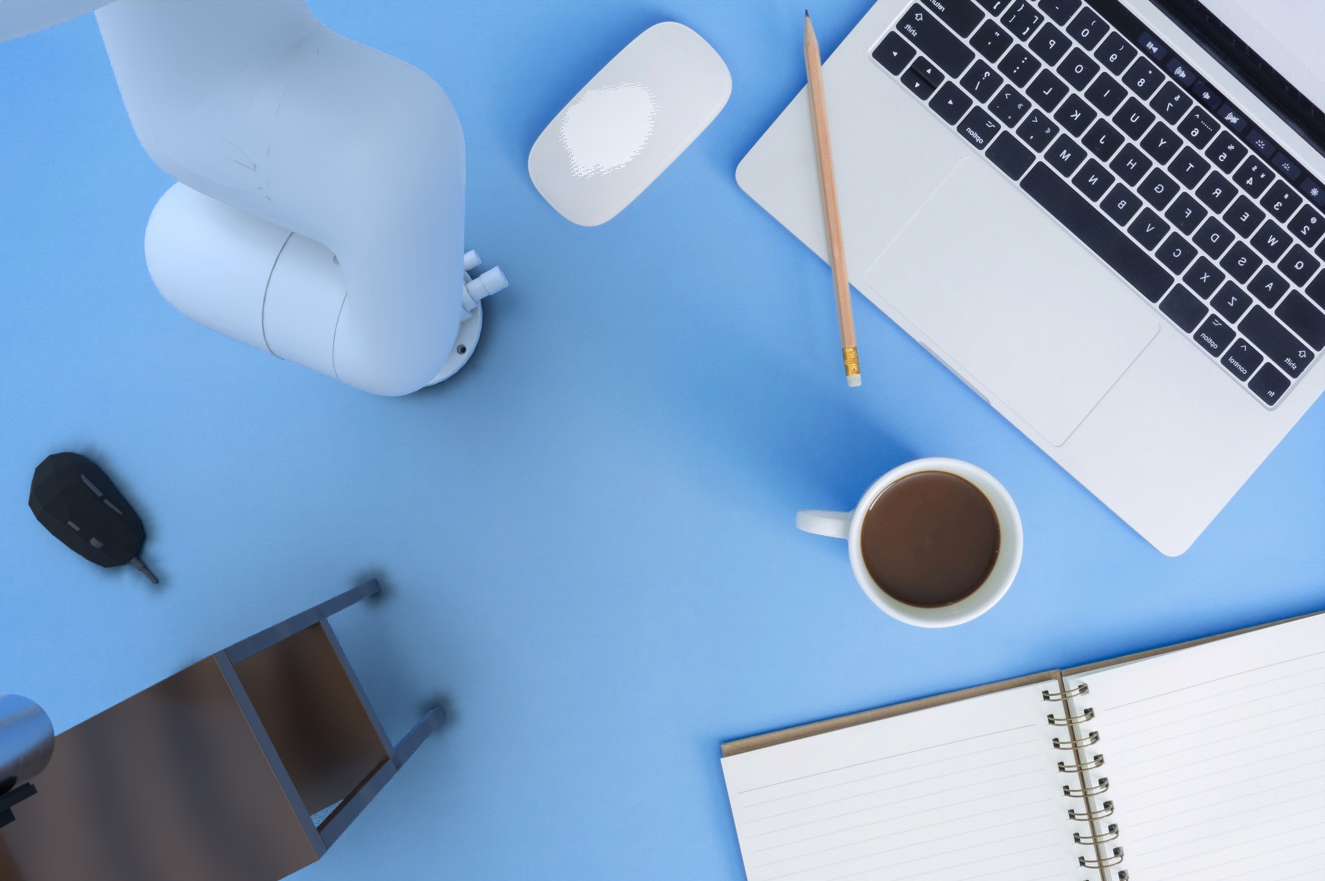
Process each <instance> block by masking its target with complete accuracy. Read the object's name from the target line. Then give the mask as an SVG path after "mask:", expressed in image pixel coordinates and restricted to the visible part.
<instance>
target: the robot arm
mask: <svg viewBox="0 0 1325 881" xmlns="http://www.w3.org/2000/svg"><path fill="white" fill-rule="evenodd" d="M92 12H93V13H94V17H95V20H96V23H97V26H98V28H99V32H100V35H101V38H102V41H103V44H104V47H105V50H106V53H107V56H108V59H109V62H110V65H111V69H112V71H113V75H114V77H115V80H116V81H115V82H116V84H117V87H118V90H119V94H120V96H121V100H122V102H123V105H124V108H125V110H126V113H127V116H128V118H129V120H130V124H131V126H132V129H133V131H134V133H135V135H136V137H137V139H138V141H139V144H140V145H141V147H142V149H143V150H144V152H145V154H146V155H147V157H148V158H150V160H151V161H152V162H153V164H154V165H155V166H156V167H158V169H160V170H161V171H162V172H163V173H164V174H165V175H168V176H169V177H171V178H172V179H174V180H175V181H176V182H175V183H174V184H172V185H171V186H170V187H169V188H168V189H167V190H166V191H165V192H164V193H163V194H162V196H161V197H160V198H159V199H158V200H157V202H156V203H155V205H154V207H153V209H152V211H151V213H150V215H149V218H148V221H147V224H146V227H145V233H144V238H143V239H144V240H143V241H144V242H143V249H144V250H143V252H144V257H145V259H144V260H145V263H146V266H147V270H148V274H149V276H150V277H151V280H152V282H153V284H154V285H155V287H156V289H157V291H158V292H159V293H160V295H161V296H162V297H163V299H164V300H165V301H166V302H167V303H168V304H169V305H170V306H171V307H172V308H173V309H175V310H176V311H177V312H178V313H179V314H181V315H182V316H184V317H185V318H186V319H188V320H190V321H191V322H194V323H195V324H197V325H199V326H200V327H203V328H205V329H207V330H208V331H211V332H214V333H216V334H218V335H221V336H223V337H225V338H227V339H230V340H232V341H234V342H238V343H240V344H243V345H245V346H247V347H250V348H252V349H255V350H257V351H259V352H262V353H264V354H267V355H269V356H272V357H275V358H277V359H279V360H282V361H288V362H290V363H292V364H295V365H298V366H300V367H303V368H305V369H307V370H310V371H312V372H314V373H317V374H320V375H321V376H324V377H326V378H329V379H332V380H334V381H337V382H338V383H341V384H344V385H346V386H348V387H351V388H354V389H357V390H360V391H362V392H365V393H367V394H372V395H375V396H380V397H391V398H392V397H402V396H406V395H409V394H412V393H415V392H417V391H419V390H421V389H423V388H426V387H431V386H434V385H436V384H439V383H441V382H444V381H447V380H448V379H449V378H451V377H452V376H453V375H456V373H458V372H459V371H460V370H461V369H462V368H463V367H464V366H465V365H466V364H467V362H468V361H469V359H470V358H471V356H472V355H473V353H474V352H475V349H476V347H477V346H478V343H479V340H480V337H481V333H482V329H483V328H482V327H483V307H482V301H481V300H482V299H484V298H486V297H488V296H493V295H495V294H496V293H498V292H500V291H502V290H504V289H505V288H507V287H510V284H509V281H508V279H507V277H506V275H505V274H504V272H503V271H502V269H501V267H500V266H499V265H496V266H494V267H493V268H491V269H489V270H487V271H485V272H483V273H481V274H479V276H478V277H476V278H475V279H472V277H471V276H470V274H469V273H468V271H470V270H472V269H473V268H476V267H478V266H479V265H481V264H482V260H481V257H480V256H479V254H478V253H477V251H476V249H474V248H473V249H471V250H469V251H468V252H465V235H466V234H465V231H466V228H465V227H466V194H467V193H466V191H467V190H466V189H467V188H466V186H467V160H466V159H467V157H466V155H467V154H466V142H465V134H464V129H463V126H462V122H461V119H460V117H459V114H458V111H457V108H456V107H455V105H454V103H453V101H452V100H451V98H450V96H449V95H448V93H447V92H446V91H445V90H444V88H443V87H442V86H441V85H440V84H439V83H438V82H437V81H436V80H435V78H433V77H431V76H430V75H429V74H427V73H426V72H425V71H423V70H422V69H420V68H418V67H416V66H415V65H413V64H411V63H408V61H405V60H403V59H401V58H399V57H397V56H394V55H392V54H389V53H387V52H384V51H383V50H380V49H377V48H374V47H372V46H370V45H367V44H365V43H362V42H360V41H357V40H354V39H352V38H349V37H347V36H344V35H341V34H339V33H337V32H335V31H333V30H332V29H330V28H329V27H327V26H326V25H324V24H323V23H322V22H321V21H320V20H319V19H318V18H317V17H316V16H315V15H314V13H313V12H312V10H311V9H310V7H309V4H308V1H307V0H0V44H2V43H5V42H9V41H14V40H18V39H22V38H25V37H28V36H31V35H35V34H38V33H41V32H45V31H47V30H51V29H52V28H55V27H58V26H61V25H63V24H66V23H69V22H71V21H73V20H76V19H78V18H80V17H83V16H85V15H87V14H90V13H92ZM464 348H465V351H464V352H463V351H462V350H463V349H464ZM36 793H38V792H37V790H36V788H35V786H34V784H32V785H30V783H29V782H27V783H25V784H23V785H21V786H19V787H17V788H15V789H13V790H11V791H9V792H7V793H5V794H3V795H1V796H0V828H2V827H4V826H5V825H7V824H9V823H11V822H13V821H14V820H16V819H15V817H14V814H13V812H12V810H11V808H10V807H12V806H13V805H15V804H17V803H19V802H21V801H23V800H25V799H27V798H28V797H30V796H32V795H34V794H36Z"/></svg>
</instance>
